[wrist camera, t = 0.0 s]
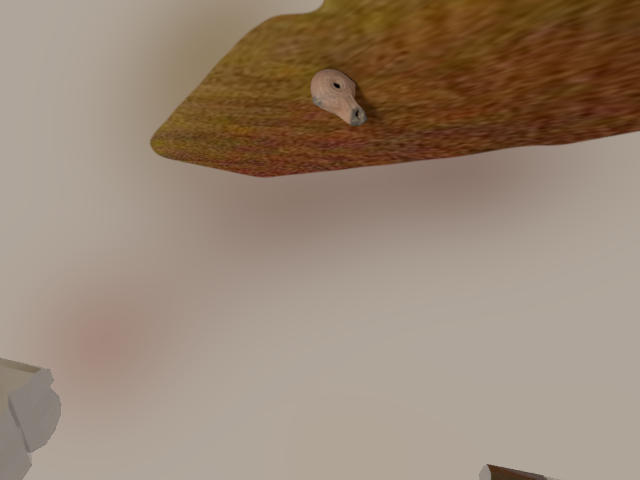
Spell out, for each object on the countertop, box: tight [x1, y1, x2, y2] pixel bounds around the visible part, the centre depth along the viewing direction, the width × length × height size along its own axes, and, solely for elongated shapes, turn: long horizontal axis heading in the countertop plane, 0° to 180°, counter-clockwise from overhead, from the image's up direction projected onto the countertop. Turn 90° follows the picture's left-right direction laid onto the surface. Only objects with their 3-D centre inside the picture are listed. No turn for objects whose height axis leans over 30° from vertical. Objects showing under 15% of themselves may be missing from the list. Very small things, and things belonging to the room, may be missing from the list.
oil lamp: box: [311, 69, 367, 126], centre depth 79 cm, size 9×4×8 cm, turn 77°
